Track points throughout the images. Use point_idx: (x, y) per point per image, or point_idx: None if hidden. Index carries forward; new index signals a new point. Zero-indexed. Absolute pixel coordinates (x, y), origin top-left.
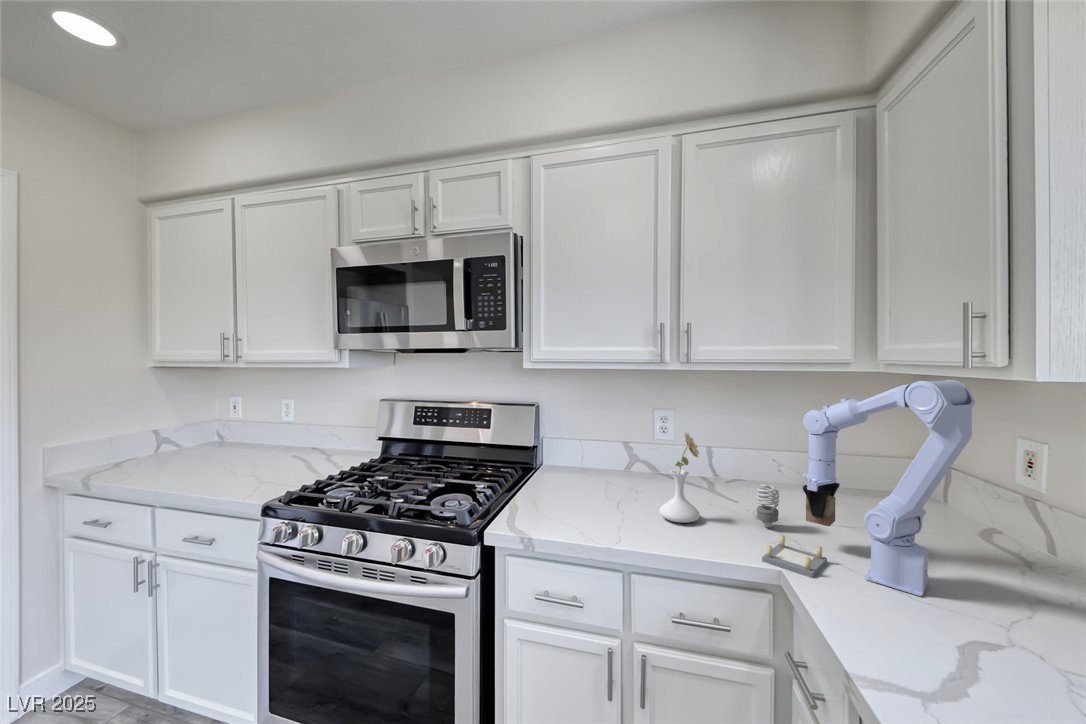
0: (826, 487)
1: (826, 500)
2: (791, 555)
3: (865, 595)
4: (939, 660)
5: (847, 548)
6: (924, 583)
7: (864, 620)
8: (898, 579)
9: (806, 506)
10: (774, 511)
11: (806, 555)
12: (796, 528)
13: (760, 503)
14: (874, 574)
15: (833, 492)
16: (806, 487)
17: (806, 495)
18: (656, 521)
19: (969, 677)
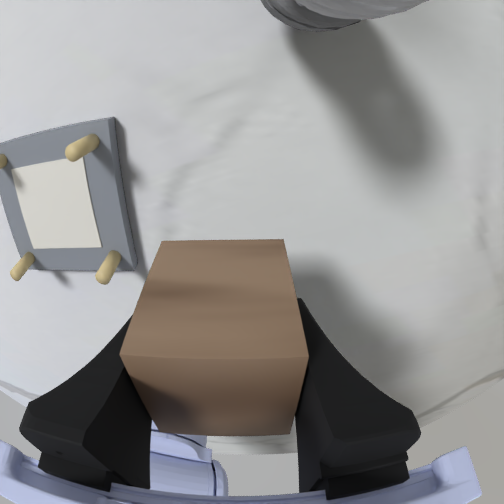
0: (306, 460)
1: (148, 430)
2: (54, 197)
3: (68, 339)
4: (28, 386)
5: (304, 275)
6: None
7: (11, 340)
8: None
9: (141, 299)
10: (300, 11)
11: (92, 227)
12: (387, 98)
13: None
14: None
15: (299, 450)
16: (31, 440)
17: (62, 383)
18: None
19: (31, 397)
